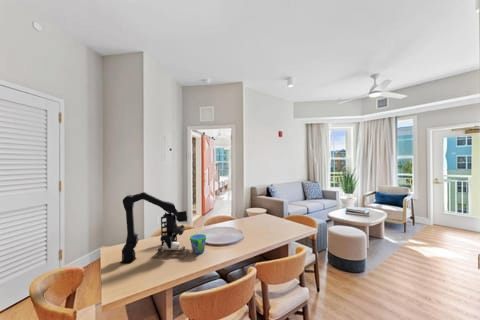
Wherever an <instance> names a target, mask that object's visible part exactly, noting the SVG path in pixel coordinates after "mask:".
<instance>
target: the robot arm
mask: <svg viewBox="0 0 480 320" xmlns="http://www.w3.org/2000/svg"><path fill="white" fill-rule="evenodd" d="M141 200H143V201H146V202H148V203H151V204H152V205H155V206H157V207H159V208H161V209H163V211H164V212H165V213H164V214H163V215H162V217H166V218H165V221H166V225H165V227H166V228H165V231H166V232H165V234H164V233H163V236H161V235H160V241H165V242H166V244H167V246H168V248H169V249H170V248H171V243H172V242H175V240H176V236H177V237H178V235H179V236H182V235H183V234H184V231H185V225H184V224H181V225H180V226H179V225H178V223H181V222H182V223H183V222H188V215H187V214H188V213H187V210H183V211H178V209H176V207H175V206H176V205H175V204H174V203H173V202H170V201H164V200H161V199H159V198H157V197H155V196H153V195H152V194H151V195H150V194H149V193H147V192H145V191H143V192H140V193H136V194H128V195H126V196H124V198H123V199H122V205H123V208H124V210H125V217H126V219H125V220H126V231H127V233H126V234H127V235H126V239H125V241H126V242H125V244H124V245H123V247H122V249H121V261H120V264H131V263H133V262H134V261H136V260H137V257H136V250H135V248H137V244H138V243H139V240H140V239H139V234H138V233H136V232H135V221H134V220H135V219H134V216H135V215H134V206H135V203H136V202H139V201H141ZM175 216H176V223H175ZM177 222H178V223H177Z"/></svg>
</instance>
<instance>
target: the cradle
mask: <svg viewBox="0 0 480 320" xmlns="http://www.w3.org/2000/svg"><path fill="white" fill-rule="evenodd" d="M156 250H157V252H155V253H154V254H153V255H152V258H153V259H185V257H186V256H187V254H188V253H189V252H190V249H189V248H188V249H187V248H186V247H185V246H184V245H183V246H182V247H181V248H180V247H179V248H178V249H163V245H161V246H159V247H158V248H157V249H156Z"/></svg>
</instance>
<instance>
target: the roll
mask: <svg viewBox="0 0 480 320" xmlns="http://www.w3.org/2000/svg"><path fill="white" fill-rule="evenodd" d="M162 246H163V249H169V248H168V246H167V244H166V242H164V243H163V245H162ZM170 249H180V242H179V241H177V242H172V243H171V248H170Z"/></svg>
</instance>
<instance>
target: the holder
mask: <svg viewBox="0 0 480 320" xmlns="http://www.w3.org/2000/svg"><path fill="white" fill-rule="evenodd" d="M163 219H166V217H163V216H161V217H160V234H161V235H160V237H161V236H163V235H164V234H165V232H166V230H163V229H166V227H165V225H166V220H165V221H163ZM175 223H177V221H176V216H175ZM160 241H161V240H160ZM164 242H165V241H161V242H160V243H161V246H163V244H164ZM175 242H178V235H177V236H176V238H175Z"/></svg>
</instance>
